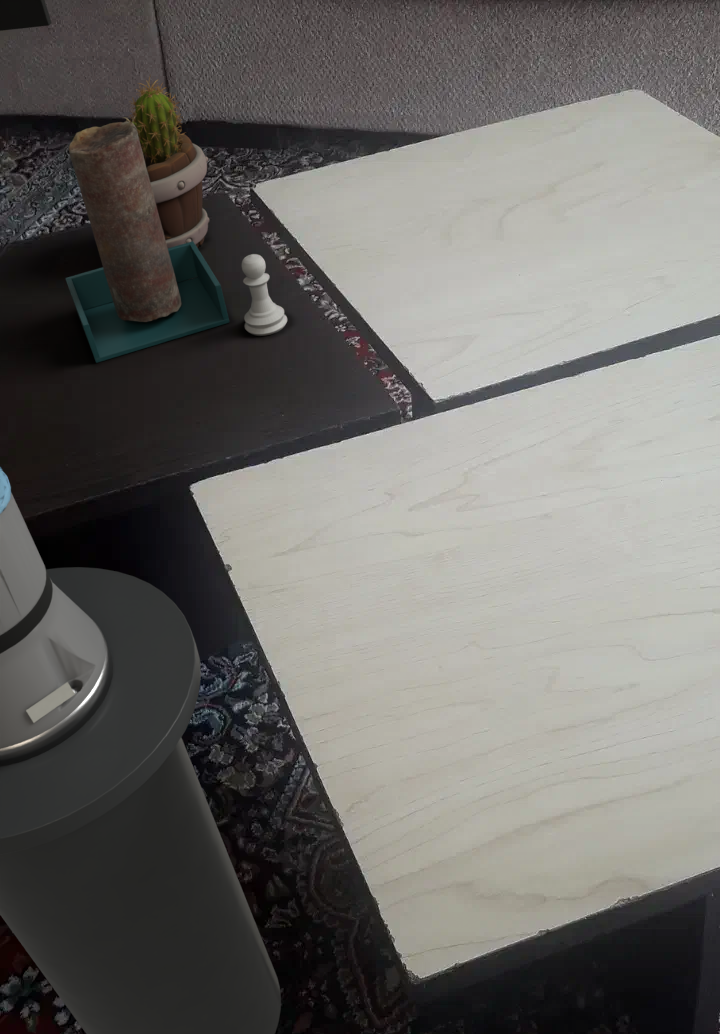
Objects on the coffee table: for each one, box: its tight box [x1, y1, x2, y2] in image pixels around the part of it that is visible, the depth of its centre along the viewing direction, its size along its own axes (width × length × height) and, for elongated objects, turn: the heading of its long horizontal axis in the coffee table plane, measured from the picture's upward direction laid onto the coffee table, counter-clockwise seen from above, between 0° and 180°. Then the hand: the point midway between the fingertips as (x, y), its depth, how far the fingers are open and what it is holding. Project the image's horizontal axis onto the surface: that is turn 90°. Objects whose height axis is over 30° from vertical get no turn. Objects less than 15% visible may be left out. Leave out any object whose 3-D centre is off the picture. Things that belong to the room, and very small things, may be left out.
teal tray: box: [65, 241, 230, 364], centre depth 120 cm, size 17×15×4 cm
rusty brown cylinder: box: [68, 121, 182, 322], centre depth 113 cm, size 8×7×20 cm
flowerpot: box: [122, 74, 210, 249], centre depth 126 cm, size 14×15×20 cm
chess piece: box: [241, 253, 288, 337], centre depth 113 cm, size 5×5×8 cm
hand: (19, 31), depth 100 cm, fingers open, 13 cm apart
